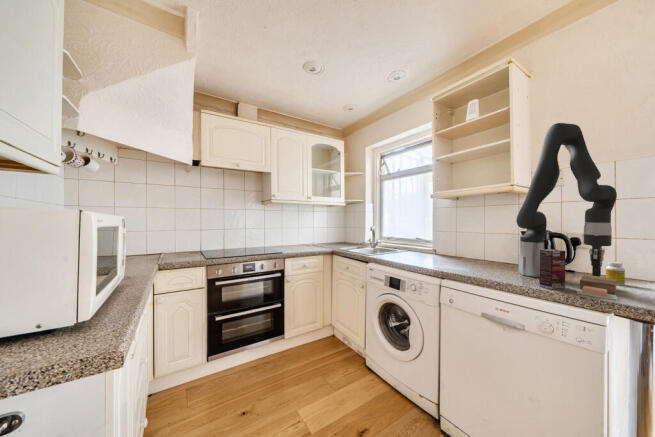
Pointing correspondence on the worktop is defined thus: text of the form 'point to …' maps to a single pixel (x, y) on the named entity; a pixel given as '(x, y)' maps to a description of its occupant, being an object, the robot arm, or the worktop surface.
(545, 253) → the supplement box
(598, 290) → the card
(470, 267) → the worktop surface
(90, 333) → the worktop surface
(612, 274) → the supplement bottle
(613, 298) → the mat
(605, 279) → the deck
